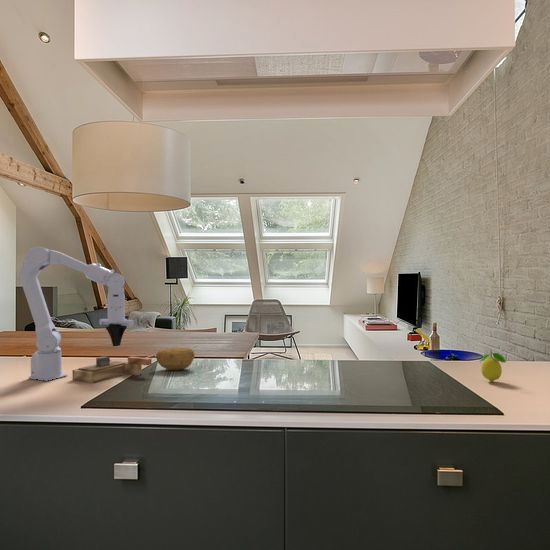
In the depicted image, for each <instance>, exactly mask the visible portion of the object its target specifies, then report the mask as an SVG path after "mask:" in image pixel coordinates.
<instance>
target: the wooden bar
mask: <svg viewBox="0 0 550 550" xmlns="http://www.w3.org/2000/svg"><path fill="white" fill-rule="evenodd" d="M127 362H128V363H131V364H140V365H142V366H151V365H152V358H150V357H142V356H141V357H140V356H128V357H127Z"/></svg>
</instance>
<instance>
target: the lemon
mask: <svg viewBox="0 0 550 550" xmlns="http://www.w3.org/2000/svg"><path fill="white" fill-rule="evenodd" d="M492 351H493V350H492V349H490V354H484V355H483V356H482V357H481V359H480V360H479V363H482V364H481V370H480V371H481V375H482V376H483V377H484V378H485V379H486V380H488V381H489V382H491V383H493V382H494V381H496V380H499V379H500V378H501V376H502V372H503V371H502V370H503V369H502V365H501V363H507V361H506V359H505V358H504V355H502V354H500V353H498V352H492Z"/></svg>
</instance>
